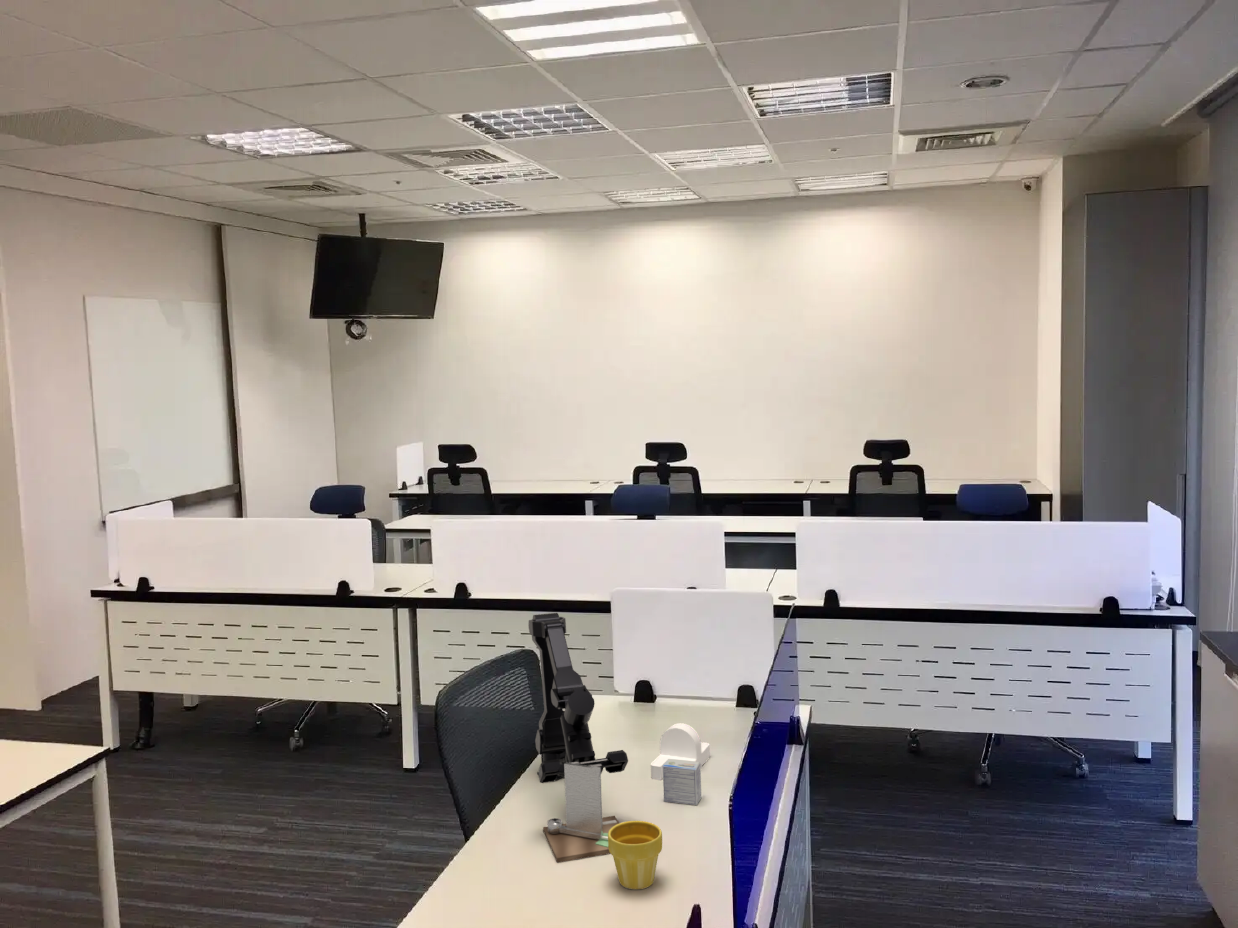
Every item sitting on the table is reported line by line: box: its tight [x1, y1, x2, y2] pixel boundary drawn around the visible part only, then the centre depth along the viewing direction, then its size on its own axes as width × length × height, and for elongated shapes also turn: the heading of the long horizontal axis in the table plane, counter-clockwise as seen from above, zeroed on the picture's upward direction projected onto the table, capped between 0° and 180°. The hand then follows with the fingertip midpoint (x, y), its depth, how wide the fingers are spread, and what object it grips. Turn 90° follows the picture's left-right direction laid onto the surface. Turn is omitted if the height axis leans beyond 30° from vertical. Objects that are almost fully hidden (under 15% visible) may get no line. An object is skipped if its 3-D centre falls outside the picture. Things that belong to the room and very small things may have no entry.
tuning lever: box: [547, 762, 608, 840], centre depth 199 cm, size 16×3×15 cm, turn 66°
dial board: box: [542, 815, 620, 864], centre depth 200 cm, size 16×14×1 cm
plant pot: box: [608, 820, 663, 891], centre depth 183 cm, size 10×10×10 cm
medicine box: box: [662, 759, 702, 806], centre depth 218 cm, size 8×4×9 cm, turn 71°
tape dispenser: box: [650, 722, 711, 781], centre depth 236 cm, size 10×18×11 cm, turn 156°
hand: (590, 805), depth 199 cm, fingers closed
